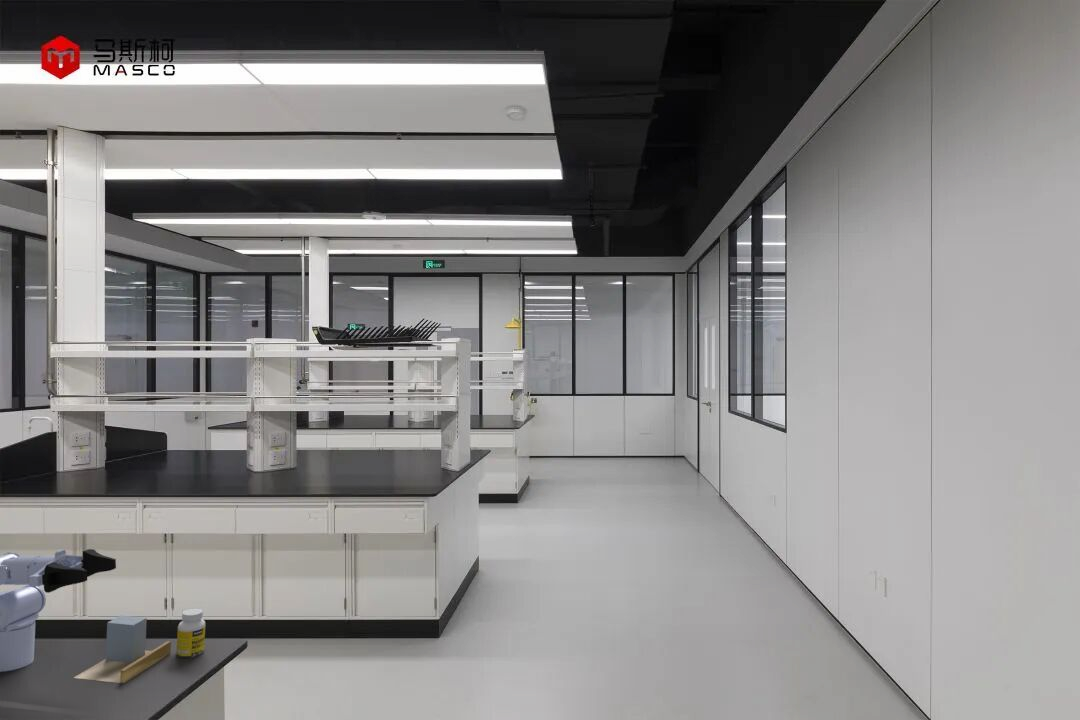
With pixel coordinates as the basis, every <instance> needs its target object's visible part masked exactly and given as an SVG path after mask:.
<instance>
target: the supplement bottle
mask: <svg viewBox="0 0 1080 720" xmlns="http://www.w3.org/2000/svg"><path fill="white" fill-rule="evenodd" d="M203 615H204V613H203V609H201V608H190V609H186V610H183V612H182V616H181V620H182V621H180V622H179V624H178V626H177V635H176V637H177V638H176V654H175V655H176V657H177V658H179V659H191V658H195V657H199V656H201V655H202V654H203V653H205V652H204V651H205V641H206V639H205V638H206V637H205V636H206V621H205V620H204V619H203Z"/></svg>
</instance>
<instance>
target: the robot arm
mask: <svg viewBox="0 0 1080 720" xmlns="http://www.w3.org/2000/svg"><path fill="white" fill-rule="evenodd" d="M115 569H117V559H116V558H113V557H110V556H105V555H103V554H100V553H99V552H98V551H96V550H95V549H92V548H89V549H85V550H83V551H82V555H74V554H73V555H71V554H67V552H66V550H65V549H59V550H57V551H56V552H55V553H54V555H20V554H18V553H16V552H11V551H10V552H6V553H3V555H0V586H2V585H4V586H5V585H6V586H7V585H10V586H11V585H13V586H23V587H21V588H20V589H19V588H17V589H15V588H14V589H9V590H6V591H5V590H4V591H0V673H1V672H10V671H14V670H18V669H22V668H25V667H27V666H29V665H30V664H32V663H33V662H34V660H35V643H36V642H35V639H36V637H35V636H36V620H37V619H38V618H39V613H40V612H41V611H42V610H44V608H45V606H46V602H47V601H46V600H47V598H46V597H47V596H46V594H45V593H52V592H55V591H56V590H58V589H60V588H63V587H68V586H71V585H72V586H73V585H76V584H82V583H84V582H86V581H88V577H92V576H93V575H94V574H98V573H103V572H104V573H105V572H110V571H113V570H115ZM40 586H43V589H42V588H41V587H40Z"/></svg>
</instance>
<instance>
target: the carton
mask: <svg viewBox="0 0 1080 720" xmlns="http://www.w3.org/2000/svg"><path fill="white" fill-rule="evenodd" d="M147 620H148V618H147V617H139V616H129V615H120V616H119V615H118V616H117V617H115V618H114V619H112V620H109V621H108V622H106V643H105V644H106V646H105V659H106V660H108V661H117V662H127V663H133V662H134V661H136V660H138V659H139V658H141V657H142V656H144V655H145V650H146V643H147V642H146V640H147Z"/></svg>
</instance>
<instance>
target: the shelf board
mask: <svg viewBox="0 0 1080 720" xmlns="http://www.w3.org/2000/svg"><path fill="white" fill-rule="evenodd" d="M171 648H172V641H170V640H167V641H165V642H164V643H162V644H161V645H159V646H157V647H156V648H154V649H152V650H146V649H145V655H144V656H142V657H141V658H139V659H138V660H136V661H134V662H133V663H127V662H117V661H108V660H106V658H105V659H103V660H101V661H99V662H98V663H96V664H94V665H93V666H91V667H89V668H87V669H85V670H84V671H82V672H81V673H79V674H77V675H75V676H74V677H73V679H80V680H88V681H98V682H106V683H107V682H108V683H116V684H125V683H127V682H129V681H131V679H133V678H134V677H137V675H139V674H140V673H143V671H145V670H146V669H148V668H150V667H152V666H153V665H154V664H156V663H157V662H159V661H160V660H162V659H164V658H165V657H166V656H168V655H170V654H171V651H172V649H171Z"/></svg>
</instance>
